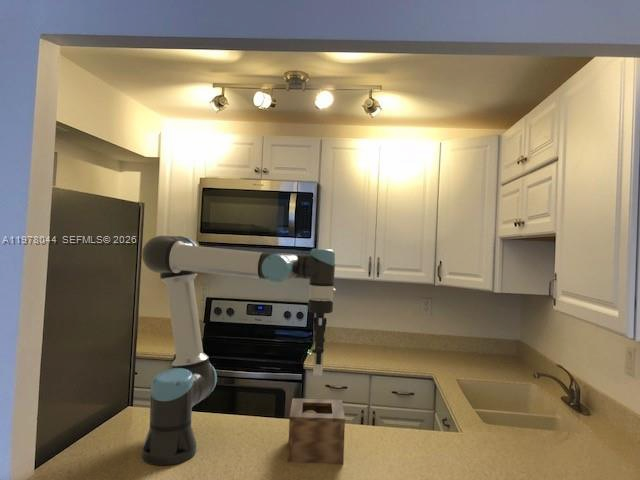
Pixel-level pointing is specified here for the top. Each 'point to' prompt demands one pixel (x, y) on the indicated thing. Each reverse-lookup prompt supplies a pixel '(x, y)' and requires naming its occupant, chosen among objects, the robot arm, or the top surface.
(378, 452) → the top surface
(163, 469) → the top surface
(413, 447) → the top surface
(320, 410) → the walnut box
